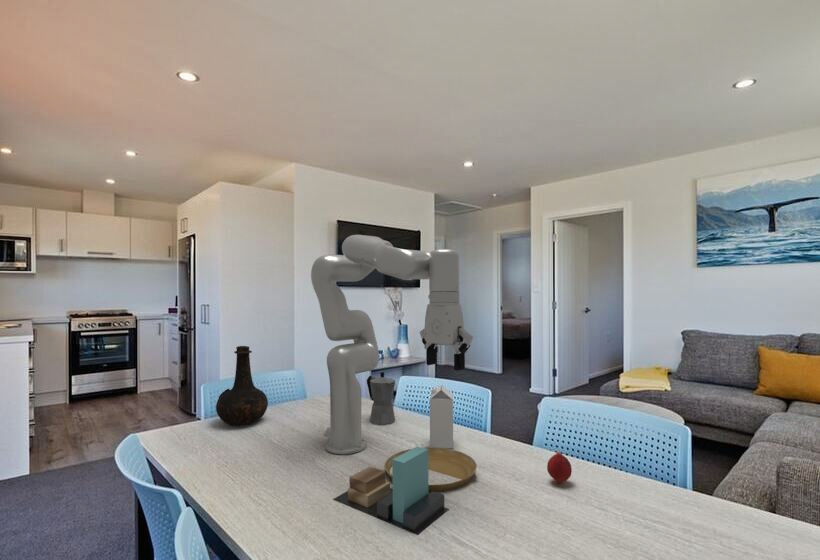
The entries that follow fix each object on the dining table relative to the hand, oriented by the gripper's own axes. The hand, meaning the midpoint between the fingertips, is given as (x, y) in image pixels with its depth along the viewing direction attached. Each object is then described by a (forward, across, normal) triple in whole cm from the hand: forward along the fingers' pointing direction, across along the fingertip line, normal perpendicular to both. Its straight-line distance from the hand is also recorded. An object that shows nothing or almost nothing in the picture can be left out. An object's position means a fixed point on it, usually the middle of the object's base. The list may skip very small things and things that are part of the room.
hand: (445, 366), depth 108 cm
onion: (+30, +18, +22) cm, 41 cm away
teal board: (+28, +5, -16) cm, 33 cm away
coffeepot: (+29, -52, +19) cm, 62 cm away
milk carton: (+30, -20, +19) cm, 40 cm away
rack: (+29, -1, -18) cm, 34 cm away
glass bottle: (+29, -84, -20) cm, 91 cm away
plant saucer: (+30, -7, +1) cm, 31 cm away
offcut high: (+26, -7, -19) cm, 33 cm away
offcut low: (+28, -6, -19) cm, 35 cm away
